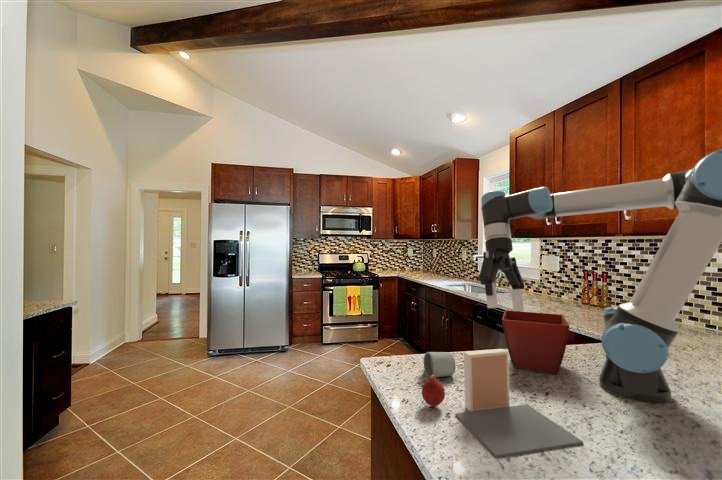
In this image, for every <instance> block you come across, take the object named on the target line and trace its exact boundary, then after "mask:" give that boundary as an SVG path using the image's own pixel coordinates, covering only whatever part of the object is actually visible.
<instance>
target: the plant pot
mask: <svg viewBox="0 0 722 480" xmlns="http://www.w3.org/2000/svg"><path fill="white" fill-rule="evenodd" d="M502 315H503V316H502V318H501V322H502V329H503V334H504V338H505V339H504V340H505V343H506V347H507V348H506V349H507V351H508V356H509V359H510V361H511V364H512V365H513V368H515V369H519V370H526V371H533V372H538V373H544V374H545V373H546V374H551V375H558V374H559V371H560V369H561V367H562V366H561V365H562V363H563V360H564V356H565V352H566V349H567V344H568V339H569V334H570V333H569V331H570V324H569V322H568V320H567V319H566V317H565V315H563V314H560V313H559V314H558V313H557V314H556V313H547V312H543V313H542V312H532V311H513V310H506V309H505V310H504V312H503V314H502Z"/></svg>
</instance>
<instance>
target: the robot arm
mask: <svg viewBox="0 0 722 480" xmlns="http://www.w3.org/2000/svg"><path fill="white" fill-rule="evenodd" d="M659 207H661V208H663V207H666V208H668V210H678V214H677V216H676V217H675V219H674V221H673V223H672V224H671V226H670V228H669V229H668V232H667V234H666V236H665V238H664V239H663V241H662V243H661V244H660V247H659V248H658V250H657V252H656V253H655V255H654V257H653V259H652V261H651V263H650V264H649V265H648V266H649V267H648V268H647V270H646V271H645V273H644V276H643V277H642V278H641V281H640V282H639V284H638V286H637V287H636V289H635V292H634V294H633V295H632V297H631V299H629V301H628V302H624V303H621V304H618V306H617V307H610V306H609V307H605V308H604V310H603V319H604V321H603V322H604V323H603V324H604V327H603V328H604V329H603V333H602V336H601V347H602V349H603V351H604V353H605V359H604V360H605V361H604V363H603V365H602V369H601V372H600V374H599V377H598V379H599V380H598V381H599V386H600V387H601V388H602V389H603V390H605V391H606V392H608V393H611V394H612V395H615V396H617V397H621V398H623V399H627V400H631V401H635V402H641V403H646V404H667V403H670V402H671V401H672V391H671V388H670V386H669V385H670V384H669V383H668V380H667V379H666V376H665V375H664V371H663V370H662V367H664V365H665V364H666V362H667V360H668V357H669V348H670V347H671V345H672V343H673V341H674V339H675V338H676V337H677V334H679V332H680V329H679V327H678V325H677V323H676V319H677V317H678V315H679V314H680V312H681V310H682V308H683V307H684V306H685V303H687V300H688V299H689V297H690V295H691V293H692V292H693V290H694V289H695V287H696V285H697V284H698V282H699V280H700V279H701V277H702V275H703V273H704V272H705V270H706V268H708V266H709V264H710V262H711V260H712V258H713V257H714V256H715V253H716V252H717V250H718V248H719V247H720V245H721V244H722V148H721V149H718V150H715V151H713V152H711V153H709V154H706V155H705V156H703V157H702V158H701V159H699V160H698V162H697V163H696V164H695V165H694V167H692V168H690V169H686V170H682V171H679V172H671V173H667V174H666V175H665V176H664V177H662V178H657V179H650V180H642V181H636V182H635V181H633V182H628V183H621V184H614V185H604V186H599V187H591V188H585V189H578V190H572V191H564V192H556V193H551V191H550V188H548V187H547V186H540V187H534V188H531V189H528V190H525V191H520V192H517V193H512V194H509V195H507V194H506V193H505V192H504V191H503V190H492V191H491V190H490V191H488V192H486V193H484V194H483V195H482V196H481V214H482V223H483V232H484V233H483V234H484V240H485V244H484V245H485V251H483V257H482V258H483V260H482V265H481V268H480V273H479V277H478V281H479V282H480V284H481V286H484V288H485V297H486V306H487V309H497V308H498V307H499V306H498V305H499V304H498V298H497V287H496V286H497V285H496V284H495V283H494V282H495V279H496V277H497V275H498V272H499V270H500V271H501V273H503V274H504V275H505V277H506V279H507V281H508V282H509V285H510V287H511V289H510V293H511V301H512V302H511V303H512V309H513V310H512V311H522V312H525V310H524V304H523V297H522V295H523V294H522V290H524V289H525V283H524V279H523V278H522V275H521V272H520V270H519V267H518V265H517V259H516V257H510V255H509V254H510V253H512V252H513V249H514V248H513V241H512V239H511V238H512V231H511V227H510V226H511V225H510V220H514V219H518V218H519V219H520V218H525V217H529V218H531V219H533V220H539V221H540V220H545V219H548V218H549V219H550V218H557V217H566V216H578V215H586V214H587V215H589V214H598V213H599V214H600V213H608V212H620V211H629V210H640V209H650V208H653V209H654V208H659Z"/></svg>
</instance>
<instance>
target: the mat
mask: <svg viewBox="0 0 722 480" xmlns="http://www.w3.org/2000/svg"><path fill="white" fill-rule="evenodd" d="M454 415H455V417H456V418H457V419H458V420H459V421H460V422H461V423H462V424H463V425H464V426H465V427H466V428H467V429H468V431H470V432H471V434H472V435H474V437H475V438H477V440H479V442H481V444H482V445H483V446H484V447H485V448H486V449H487V450H488V452H490V453H491V454H492V455H493V457H495V458H496V459H497V458H503V457H504V458H505V457H509V456H516V455H522V454H528V453H534V452H541V451H548V450H553V449H560V448H566V447H571V446H572V447H573V446H579V445H583V444H584V441H583V440H581V438H579V437H578V436H576V435H574V434H573V433H571V432H570V431H568V430H567V429H565V428H563V427H562V426H560V425H559V424H558V423H556V422H555V421H553V420H551V419H550V418H549V417H547V416H545V415H544V414H543V413H541V412H540V411H538V410H536V409H535V408H533V407H532V406H530V405H529V404H528V403H527V404H526V403H525V404H520V405H519V404H518V405H513V406H512V405H510V407H502V408H494V409H486V410H478V411H463V412H455V413H454Z"/></svg>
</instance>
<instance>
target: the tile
mask: <svg viewBox="0 0 722 480" xmlns="http://www.w3.org/2000/svg"><path fill="white" fill-rule="evenodd" d="M463 367H464V369H463V372H464V404H465V405H464V406H465V408H466V409H467V410H468V412H470V411H478V410H486V409H494V408H502V407H510V406H511V405H510V404H511V403H510V402H511V401H510V373H509V372H510V371H509V370H510V368H509V352H508V350H506V349H503V348H494V349H482V350H472V351H471V350H470V351H469V350H468V351H463Z"/></svg>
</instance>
